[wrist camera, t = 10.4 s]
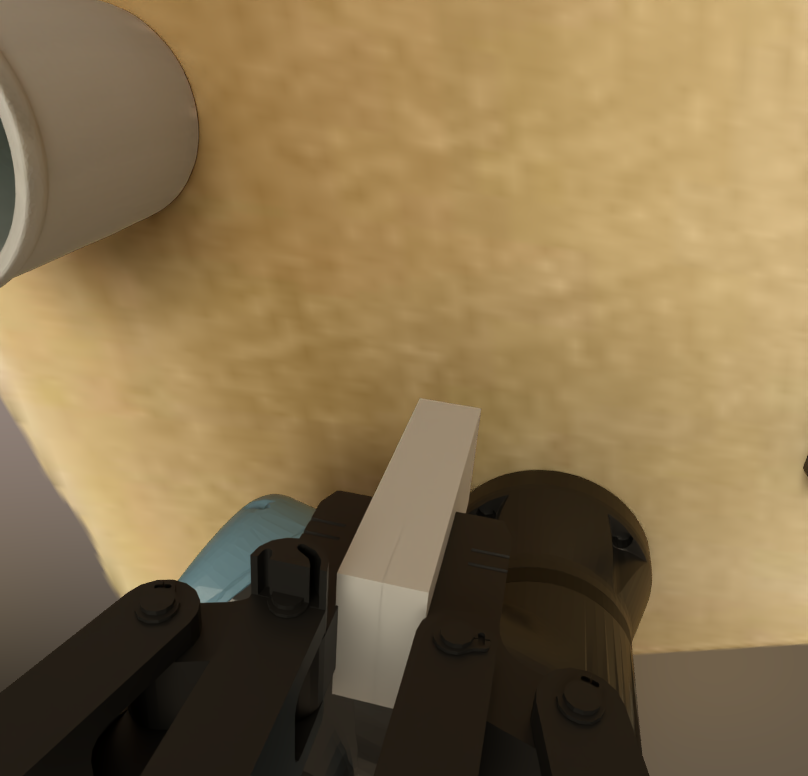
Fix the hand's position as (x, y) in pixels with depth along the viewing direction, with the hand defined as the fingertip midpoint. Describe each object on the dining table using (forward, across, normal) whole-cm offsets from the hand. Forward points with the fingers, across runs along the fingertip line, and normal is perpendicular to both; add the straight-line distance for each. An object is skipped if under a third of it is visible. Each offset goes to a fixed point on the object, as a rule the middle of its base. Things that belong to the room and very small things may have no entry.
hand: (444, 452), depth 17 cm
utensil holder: (+30, +28, -3) cm, 41 cm away
